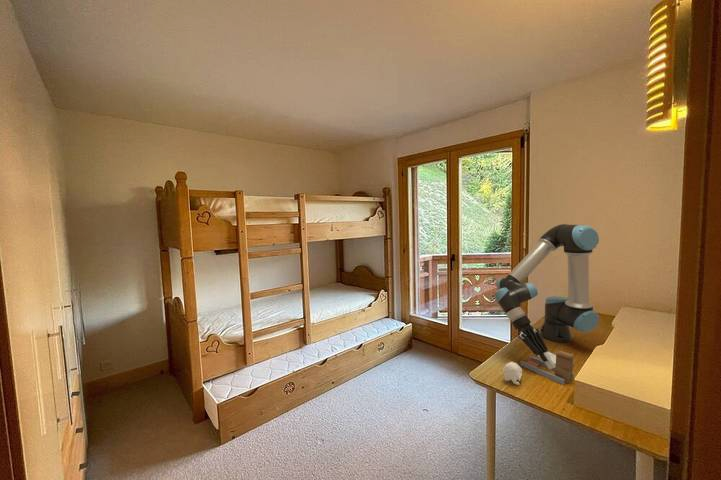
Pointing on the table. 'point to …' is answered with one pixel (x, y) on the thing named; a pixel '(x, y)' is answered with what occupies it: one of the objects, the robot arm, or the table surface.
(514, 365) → the white figurine
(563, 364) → the walnut block
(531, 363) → the pad
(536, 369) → the channel
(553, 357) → the external hard drive
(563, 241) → the robot arm
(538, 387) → the table surface
